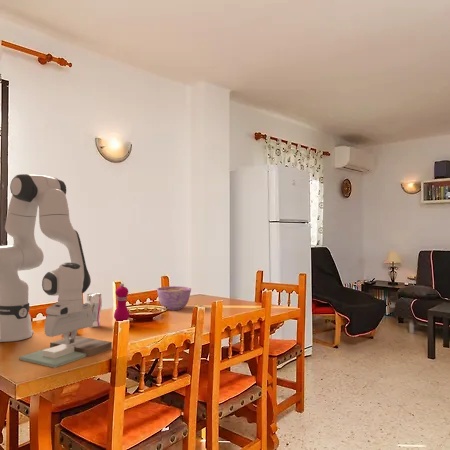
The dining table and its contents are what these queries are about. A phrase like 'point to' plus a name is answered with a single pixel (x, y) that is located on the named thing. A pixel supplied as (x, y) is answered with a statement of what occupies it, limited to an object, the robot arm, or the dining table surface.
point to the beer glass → (95, 307)
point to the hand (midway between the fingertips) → (70, 343)
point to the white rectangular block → (58, 351)
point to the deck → (86, 345)
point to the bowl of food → (173, 296)
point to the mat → (51, 362)
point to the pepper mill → (121, 304)
